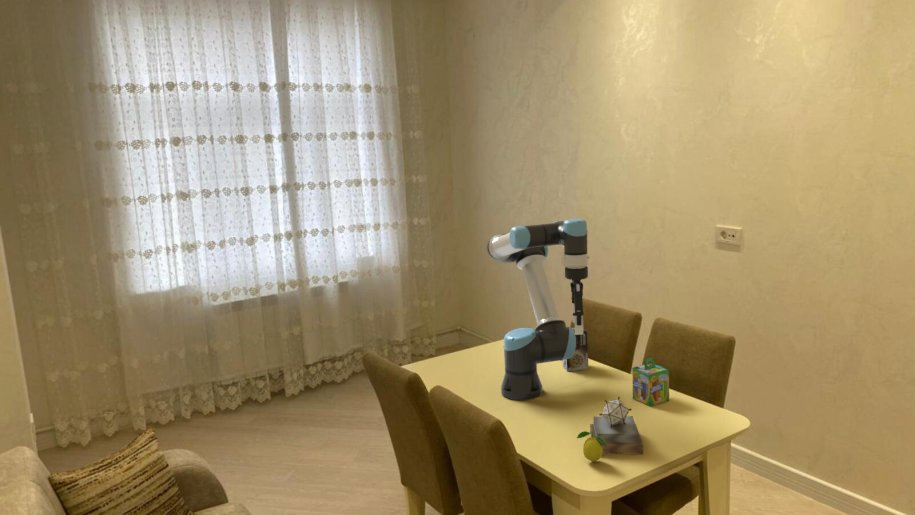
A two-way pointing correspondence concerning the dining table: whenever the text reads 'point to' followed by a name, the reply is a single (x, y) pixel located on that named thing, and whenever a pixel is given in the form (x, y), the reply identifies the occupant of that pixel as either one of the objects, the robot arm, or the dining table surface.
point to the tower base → (620, 446)
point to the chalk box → (650, 383)
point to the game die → (615, 412)
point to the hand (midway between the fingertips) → (577, 328)
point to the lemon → (592, 446)
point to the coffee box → (578, 354)
